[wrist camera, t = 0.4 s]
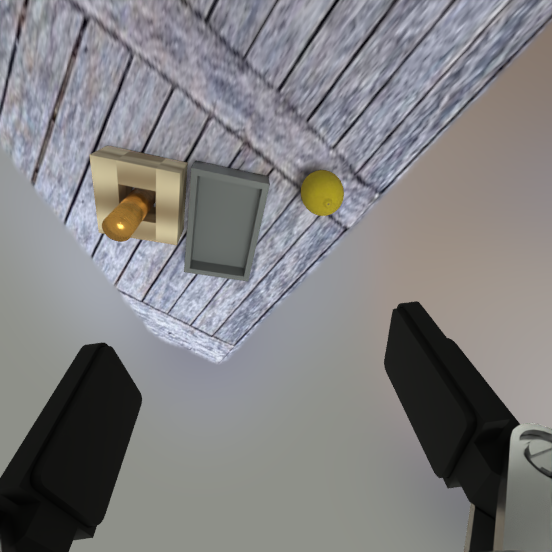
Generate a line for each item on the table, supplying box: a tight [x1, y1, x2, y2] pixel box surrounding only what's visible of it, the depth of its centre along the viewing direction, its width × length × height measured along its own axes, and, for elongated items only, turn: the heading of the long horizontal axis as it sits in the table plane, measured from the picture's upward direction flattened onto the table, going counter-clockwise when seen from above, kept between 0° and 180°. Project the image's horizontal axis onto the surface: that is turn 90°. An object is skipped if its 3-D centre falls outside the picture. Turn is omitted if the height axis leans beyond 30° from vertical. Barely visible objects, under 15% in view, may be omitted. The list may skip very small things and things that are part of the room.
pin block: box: [90, 146, 188, 245], centre depth 39 cm, size 10×10×5 cm
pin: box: [102, 187, 156, 242], centre depth 36 cm, size 3×3×12 cm
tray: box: [184, 161, 270, 281], centre depth 43 cm, size 16×10×4 cm, turn 167°
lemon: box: [301, 170, 344, 216], centre depth 39 cm, size 6×6×8 cm
